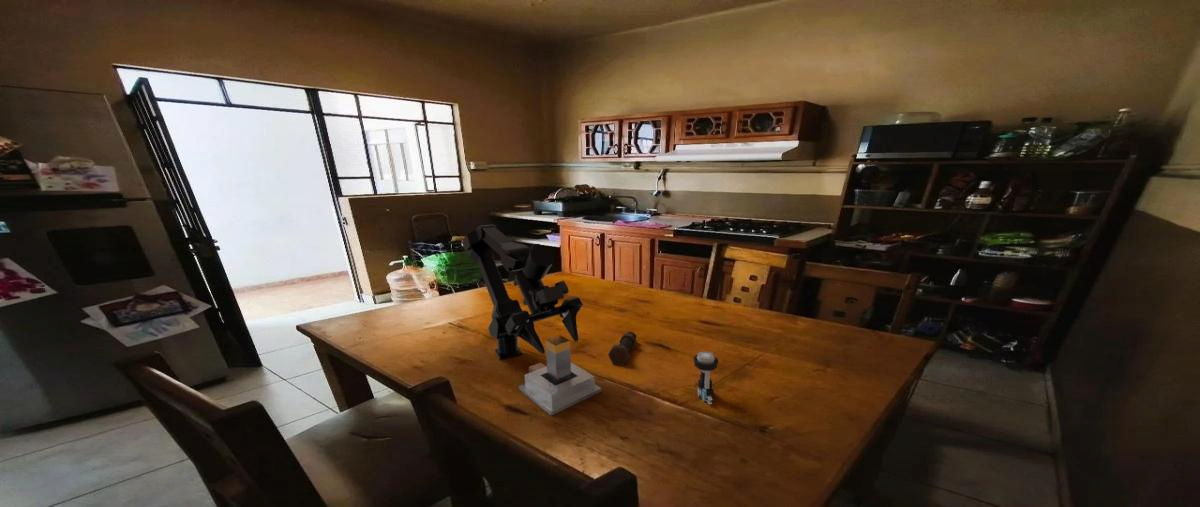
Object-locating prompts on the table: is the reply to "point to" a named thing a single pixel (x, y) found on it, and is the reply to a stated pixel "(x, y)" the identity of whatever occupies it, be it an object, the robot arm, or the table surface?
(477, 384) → the table surface
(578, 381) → the grey socket base
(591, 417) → the table surface
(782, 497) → the table surface
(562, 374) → the grey square peg
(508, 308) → the robot arm
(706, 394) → the push button
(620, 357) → the bolt
